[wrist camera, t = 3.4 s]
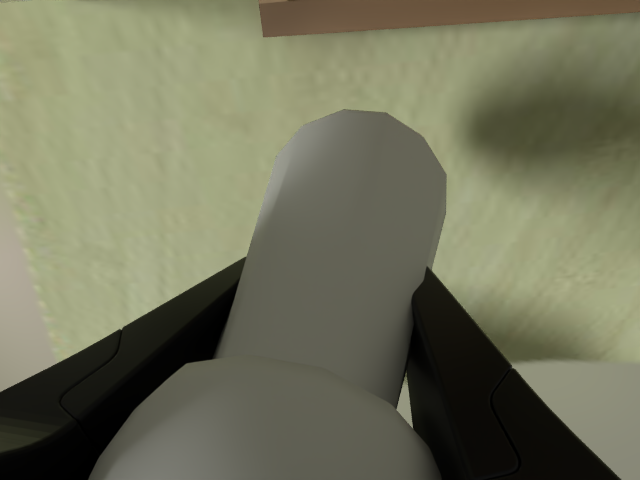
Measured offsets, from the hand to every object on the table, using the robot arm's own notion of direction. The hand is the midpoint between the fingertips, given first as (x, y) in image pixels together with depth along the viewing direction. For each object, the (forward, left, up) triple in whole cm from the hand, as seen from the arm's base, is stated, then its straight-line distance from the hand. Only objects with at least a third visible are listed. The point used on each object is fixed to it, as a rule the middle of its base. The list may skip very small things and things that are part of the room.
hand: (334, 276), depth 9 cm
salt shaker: (0, 0, -7) cm, 7 cm away
